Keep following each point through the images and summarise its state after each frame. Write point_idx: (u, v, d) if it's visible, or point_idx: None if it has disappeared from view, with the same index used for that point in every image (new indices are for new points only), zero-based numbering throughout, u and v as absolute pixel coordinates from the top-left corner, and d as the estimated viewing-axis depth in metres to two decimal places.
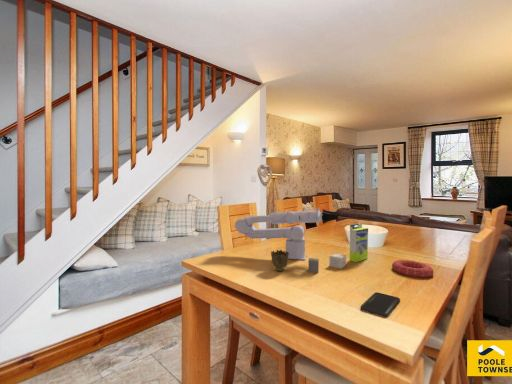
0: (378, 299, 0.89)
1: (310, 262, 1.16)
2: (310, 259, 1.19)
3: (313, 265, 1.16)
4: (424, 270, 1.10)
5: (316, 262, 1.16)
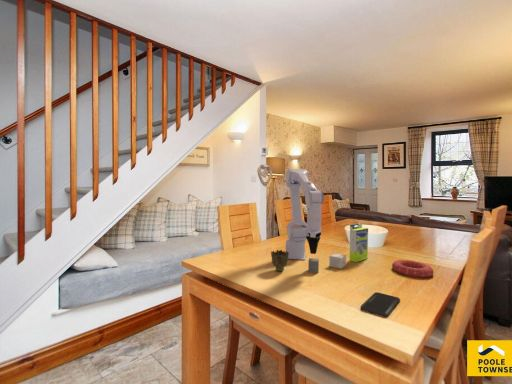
0: (378, 299, 0.89)
1: (310, 262, 1.16)
2: (310, 259, 1.19)
3: (313, 265, 1.16)
4: (424, 270, 1.10)
5: (316, 262, 1.16)
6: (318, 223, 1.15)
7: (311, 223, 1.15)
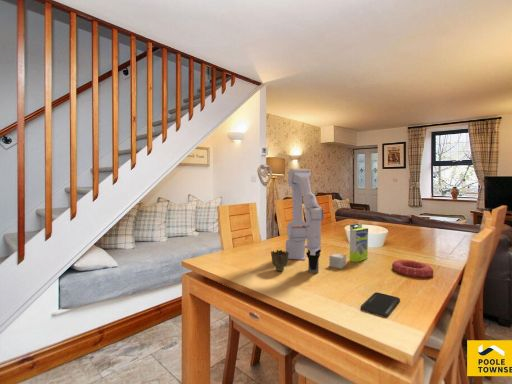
0: (378, 299, 0.89)
1: None
2: None
3: None
4: (424, 270, 1.10)
5: None
6: (318, 240, 1.15)
7: (311, 240, 1.15)
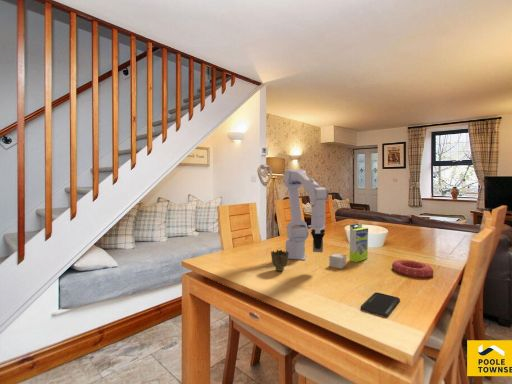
0: (378, 299, 0.89)
1: None
2: None
3: None
4: (424, 270, 1.10)
5: None
6: (322, 219, 1.16)
7: (316, 219, 1.16)
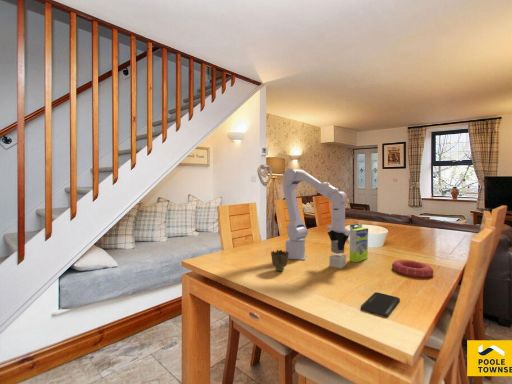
0: (378, 299, 0.89)
1: None
2: (334, 240, 1.25)
3: None
4: (424, 270, 1.10)
5: None
6: (344, 221, 1.23)
7: (340, 222, 1.21)
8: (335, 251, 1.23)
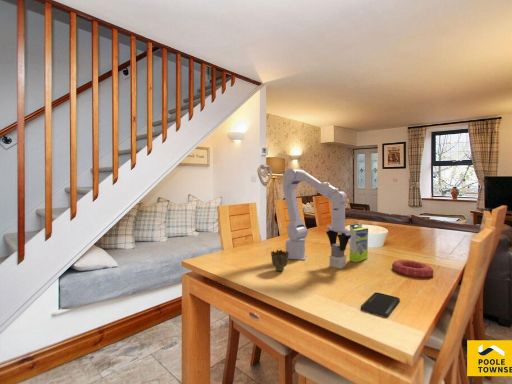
0: (378, 299, 0.89)
1: (338, 247, 1.22)
2: (334, 244, 1.25)
3: None
4: (424, 270, 1.10)
5: None
6: (344, 221, 1.23)
7: (340, 222, 1.21)
8: (335, 255, 1.23)
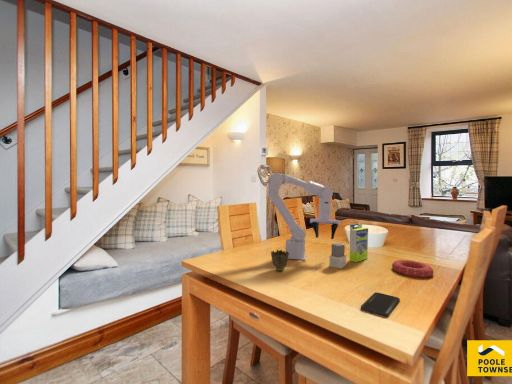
0: (378, 299, 0.89)
1: (338, 247, 1.22)
2: (334, 244, 1.25)
3: (340, 249, 1.23)
4: (424, 270, 1.10)
5: (343, 246, 1.23)
6: None
7: (330, 214, 1.36)
8: (335, 255, 1.23)
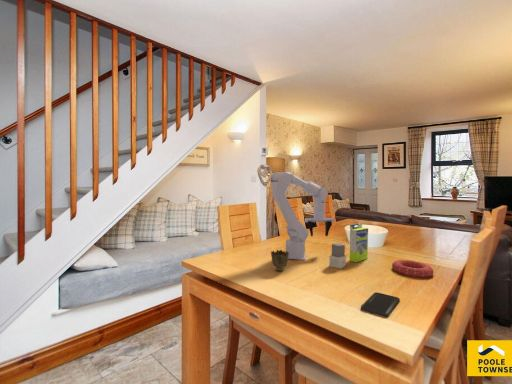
0: (378, 299, 0.89)
1: (338, 247, 1.22)
2: (334, 244, 1.25)
3: (340, 249, 1.23)
4: (424, 270, 1.10)
5: (343, 246, 1.23)
6: None
7: (324, 212, 1.44)
8: (335, 254, 1.23)
